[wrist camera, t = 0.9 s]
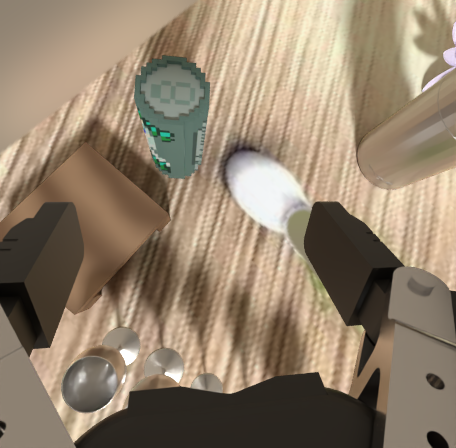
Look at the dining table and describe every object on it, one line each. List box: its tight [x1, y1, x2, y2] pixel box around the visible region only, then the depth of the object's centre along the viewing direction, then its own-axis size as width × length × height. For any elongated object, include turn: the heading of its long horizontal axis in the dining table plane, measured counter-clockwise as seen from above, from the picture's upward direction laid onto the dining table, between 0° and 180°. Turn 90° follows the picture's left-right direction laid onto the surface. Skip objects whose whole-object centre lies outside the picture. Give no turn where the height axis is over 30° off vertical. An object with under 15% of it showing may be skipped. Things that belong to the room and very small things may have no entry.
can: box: [134, 55, 210, 179], centre depth 33 cm, size 6×6×15 cm
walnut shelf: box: [0, 142, 170, 315], centre depth 35 cm, size 14×12×5 cm
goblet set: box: [61, 327, 223, 413], centre depth 30 cm, size 28×6×13 cm, turn 62°
